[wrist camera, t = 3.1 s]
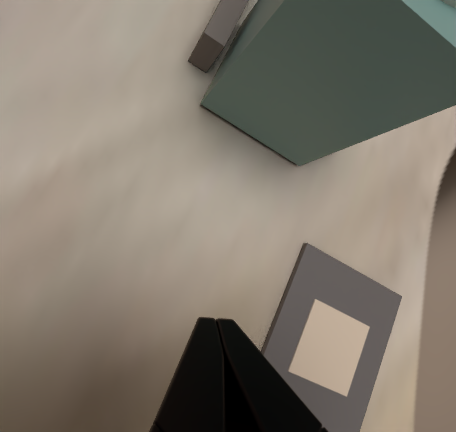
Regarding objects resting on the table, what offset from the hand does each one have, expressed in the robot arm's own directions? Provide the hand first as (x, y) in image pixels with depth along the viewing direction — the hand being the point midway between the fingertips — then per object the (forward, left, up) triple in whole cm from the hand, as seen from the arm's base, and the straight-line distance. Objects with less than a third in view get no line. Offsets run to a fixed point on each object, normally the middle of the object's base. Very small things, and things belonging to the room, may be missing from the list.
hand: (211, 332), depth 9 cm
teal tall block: (+10, -10, -11) cm, 18 cm away
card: (-6, -10, -11) cm, 16 cm away
